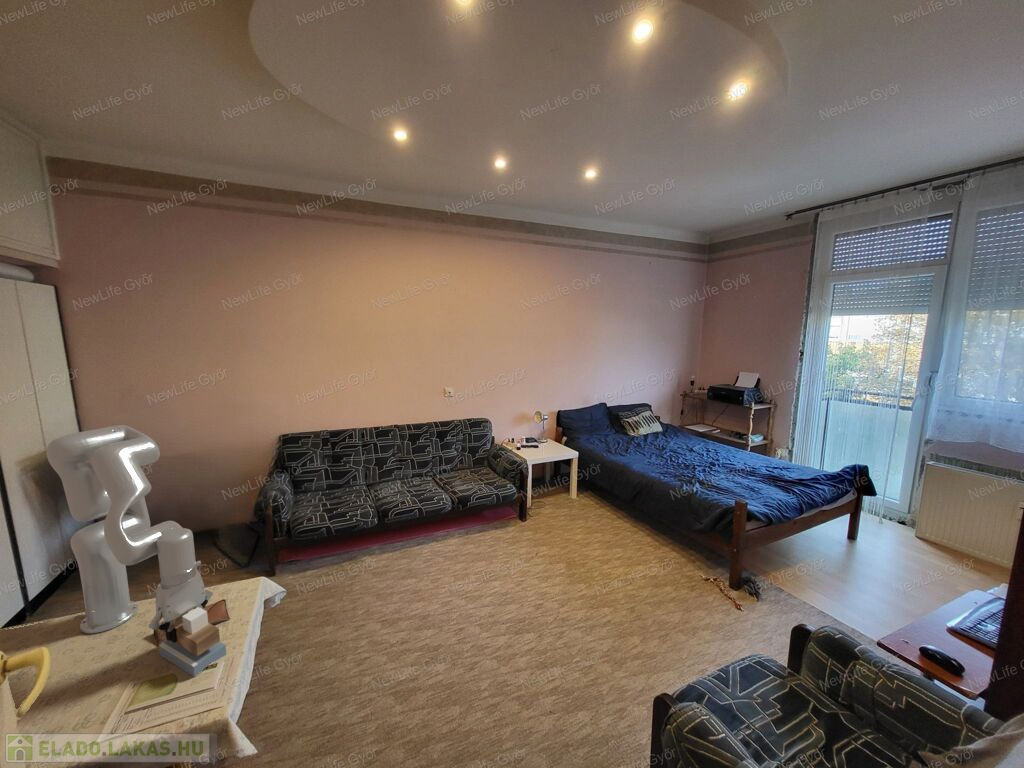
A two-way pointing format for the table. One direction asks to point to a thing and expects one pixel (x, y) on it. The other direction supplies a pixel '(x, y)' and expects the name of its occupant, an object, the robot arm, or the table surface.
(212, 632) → the curved wooden block
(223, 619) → the sunglasses case
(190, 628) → the small white cube
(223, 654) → the block
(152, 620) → the robot arm
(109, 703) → the table surface
